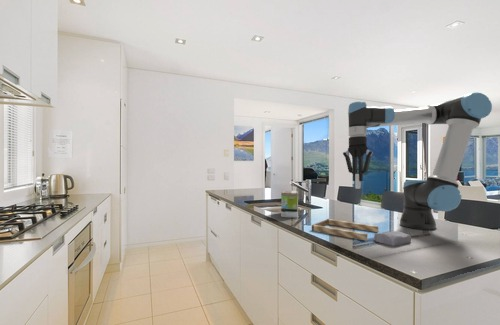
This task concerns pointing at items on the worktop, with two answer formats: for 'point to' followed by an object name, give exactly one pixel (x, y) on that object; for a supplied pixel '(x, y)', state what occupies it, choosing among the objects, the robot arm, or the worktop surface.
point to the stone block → (392, 238)
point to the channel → (351, 234)
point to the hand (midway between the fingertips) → (358, 188)
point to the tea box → (289, 204)
